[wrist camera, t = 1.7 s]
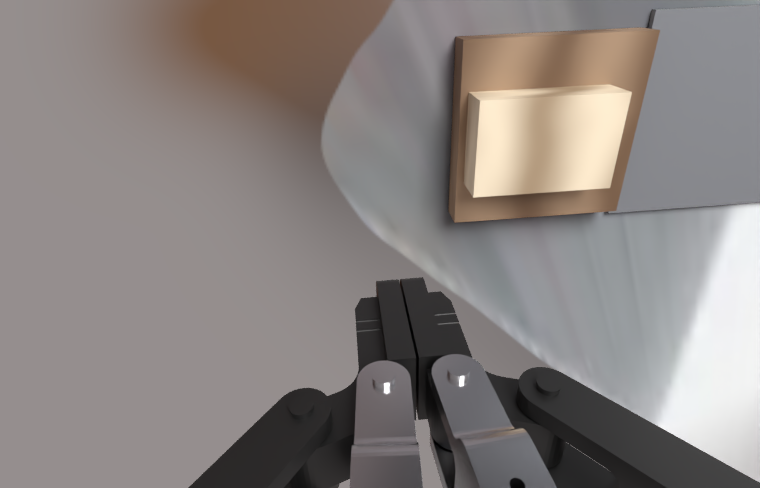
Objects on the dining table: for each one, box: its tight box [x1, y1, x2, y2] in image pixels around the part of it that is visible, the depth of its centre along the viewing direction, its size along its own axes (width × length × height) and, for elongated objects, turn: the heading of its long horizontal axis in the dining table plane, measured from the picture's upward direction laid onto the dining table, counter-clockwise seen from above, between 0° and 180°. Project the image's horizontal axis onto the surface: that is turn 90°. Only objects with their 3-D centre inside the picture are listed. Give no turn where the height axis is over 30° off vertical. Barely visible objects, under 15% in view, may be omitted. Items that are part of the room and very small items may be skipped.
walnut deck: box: [448, 28, 660, 223], centre depth 31 cm, size 12×12×2 cm
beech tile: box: [464, 84, 632, 198], centre depth 29 cm, size 9×6×2 cm, turn 92°
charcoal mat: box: [607, 5, 760, 213], centre depth 32 cm, size 14×14×1 cm
